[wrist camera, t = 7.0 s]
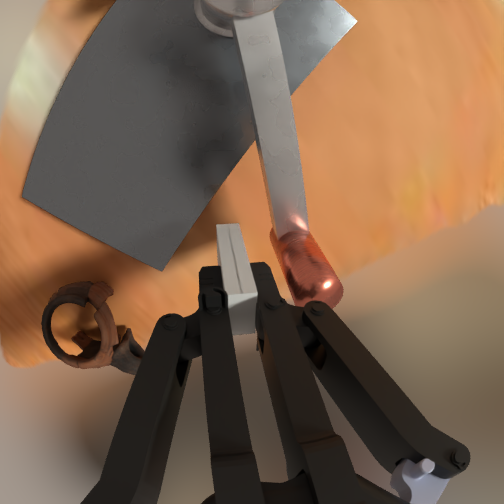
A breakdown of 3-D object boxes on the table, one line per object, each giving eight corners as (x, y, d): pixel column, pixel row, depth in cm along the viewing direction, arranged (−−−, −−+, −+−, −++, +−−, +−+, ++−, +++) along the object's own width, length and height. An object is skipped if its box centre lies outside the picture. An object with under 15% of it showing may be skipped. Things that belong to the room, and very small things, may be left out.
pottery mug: (58, 325, 29) (25, 347, 20) (85, 257, 29) (52, 263, 21) (141, 375, 31) (128, 412, 22) (175, 310, 31) (167, 334, 23)
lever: (186, -49, 10) (179, -120, 2) (254, -58, 10) (290, -126, 2) (254, 239, 22) (281, 325, 15) (309, 225, 22) (357, 303, 15)
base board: (197, -70, 10) (197, -115, 4) (345, 24, 16) (397, 12, 10) (31, 186, 19) (-12, 225, 13) (164, 257, 25) (155, 314, 19)
